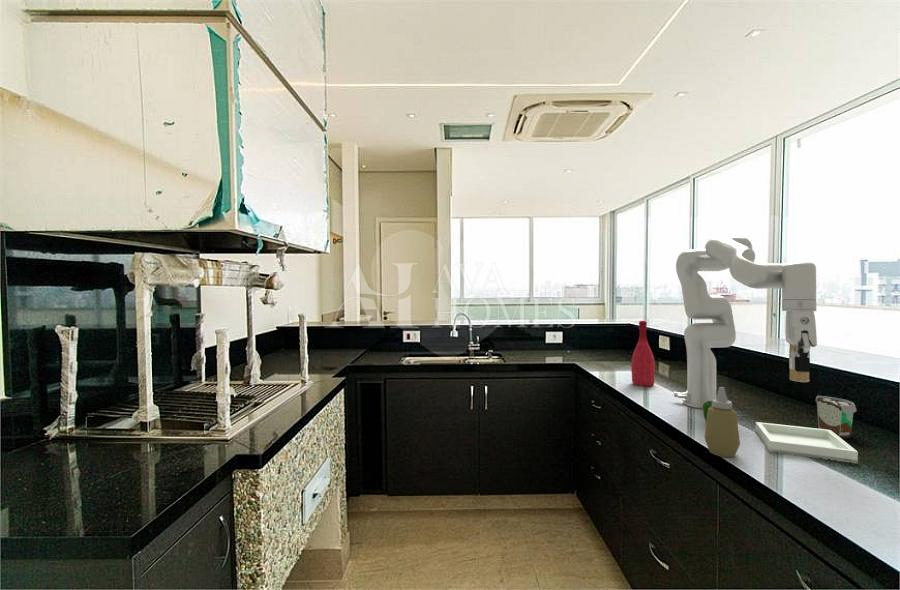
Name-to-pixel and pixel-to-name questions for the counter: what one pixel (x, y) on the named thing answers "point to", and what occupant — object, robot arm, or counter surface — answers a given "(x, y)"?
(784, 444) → the tray
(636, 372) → the wine bottle
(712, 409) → the squeeze bottle
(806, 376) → the sprinkles bottle
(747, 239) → the robot arm
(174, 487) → the counter surface
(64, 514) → the counter surface
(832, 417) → the food container
